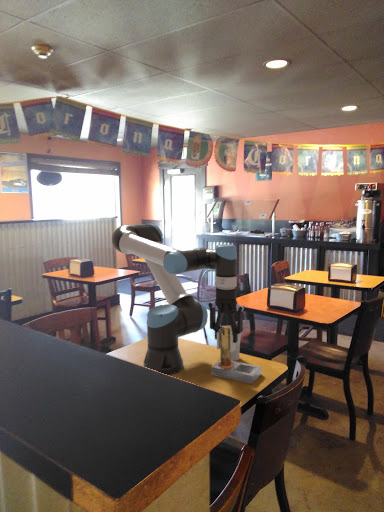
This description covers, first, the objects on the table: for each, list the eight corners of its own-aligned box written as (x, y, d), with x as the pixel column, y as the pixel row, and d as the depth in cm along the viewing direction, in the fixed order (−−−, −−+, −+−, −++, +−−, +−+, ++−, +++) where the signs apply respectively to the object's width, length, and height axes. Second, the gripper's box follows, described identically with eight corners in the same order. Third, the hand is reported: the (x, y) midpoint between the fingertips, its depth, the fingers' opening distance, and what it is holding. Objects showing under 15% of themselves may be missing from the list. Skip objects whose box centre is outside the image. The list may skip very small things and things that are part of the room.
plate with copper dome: (210, 374, 144) (210, 366, 144) (221, 365, 152) (221, 358, 151) (251, 384, 136) (252, 375, 136) (261, 374, 144) (261, 366, 143)
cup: (240, 362, 155) (240, 333, 153) (220, 361, 156) (220, 332, 155) (242, 355, 162) (242, 326, 161) (222, 353, 164) (222, 326, 162)
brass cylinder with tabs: (224, 360, 149) (224, 324, 147) (234, 362, 147) (234, 325, 145) (217, 366, 144) (216, 329, 142) (227, 368, 142) (226, 330, 140)
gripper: (199, 286, 143) (199, 348, 146) (245, 291, 134) (244, 357, 137) (209, 283, 149) (209, 342, 152) (253, 287, 140) (252, 350, 143)
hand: (226, 349), depth 145 cm, fingers open, 5 cm apart
